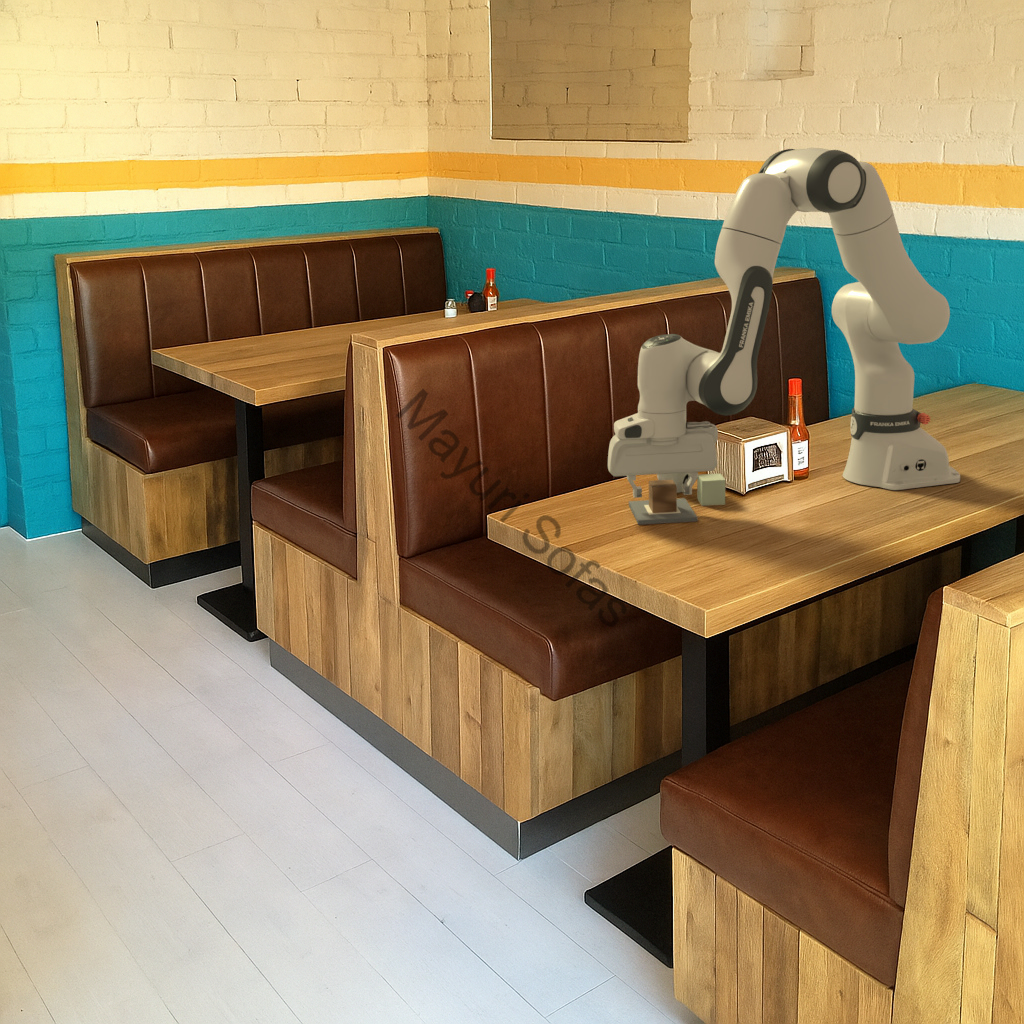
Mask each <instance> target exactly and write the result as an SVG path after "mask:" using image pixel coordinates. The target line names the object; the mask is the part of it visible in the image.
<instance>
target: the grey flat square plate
mask: <svg viewBox="0 0 1024 1024" xmlns="http://www.w3.org/2000/svg"><path fill="white" fill-rule="evenodd" d="M628 507H629V509H630V511H631V513H632V515H633V517H634V519H635V521H636V524H637V525H656V524H672V523H674V524H675V523H690V522H698V521H699V520H698V516H697V514H696V512H695V511H694V509H693V508H692V506H691V505H690V503H689V502H688V500H687V499H686V498H685V497H683V498H682V497H681V498H677V512H664V513H652V511H651V509H650V507H649V499H647V500H629V501H628Z"/></svg>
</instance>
